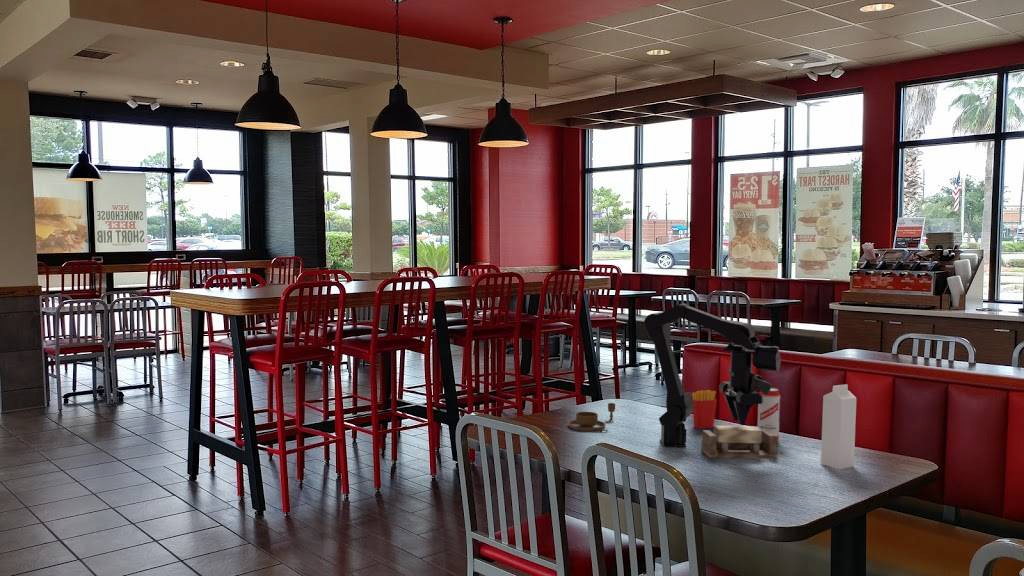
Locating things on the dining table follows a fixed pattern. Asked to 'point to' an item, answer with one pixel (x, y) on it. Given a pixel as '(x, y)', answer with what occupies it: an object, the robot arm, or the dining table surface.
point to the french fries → (704, 408)
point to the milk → (838, 428)
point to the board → (738, 434)
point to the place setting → (590, 420)
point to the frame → (739, 447)
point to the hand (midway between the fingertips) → (739, 422)
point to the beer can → (769, 412)
